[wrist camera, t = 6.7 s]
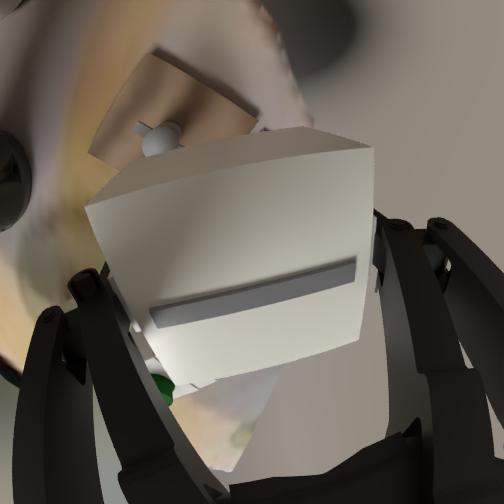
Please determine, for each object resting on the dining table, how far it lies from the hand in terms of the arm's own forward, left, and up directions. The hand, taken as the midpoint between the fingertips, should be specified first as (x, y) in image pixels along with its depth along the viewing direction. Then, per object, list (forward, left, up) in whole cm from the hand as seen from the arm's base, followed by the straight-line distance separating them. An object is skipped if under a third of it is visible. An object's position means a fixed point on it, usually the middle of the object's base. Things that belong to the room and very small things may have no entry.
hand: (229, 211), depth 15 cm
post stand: (-5, 0, -21) cm, 22 cm away
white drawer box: (0, 0, +1) cm, 1 cm away
